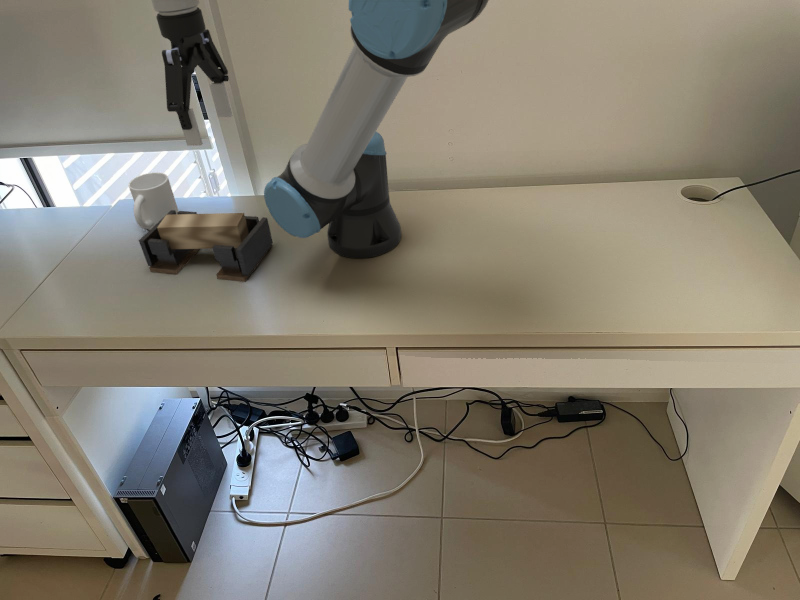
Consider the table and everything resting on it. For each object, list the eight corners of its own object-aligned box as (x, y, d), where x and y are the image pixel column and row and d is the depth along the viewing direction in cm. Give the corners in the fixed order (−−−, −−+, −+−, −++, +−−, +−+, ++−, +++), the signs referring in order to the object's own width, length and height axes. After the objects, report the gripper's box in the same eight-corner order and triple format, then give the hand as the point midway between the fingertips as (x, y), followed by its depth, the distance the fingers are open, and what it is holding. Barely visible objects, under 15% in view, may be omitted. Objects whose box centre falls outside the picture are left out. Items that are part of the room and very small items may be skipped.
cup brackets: (274, 245, 133) (268, 216, 129) (247, 281, 123) (239, 251, 119) (181, 237, 138) (172, 209, 134) (148, 271, 128) (137, 241, 124)
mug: (161, 241, 137) (146, 199, 131) (127, 239, 139) (111, 197, 133) (187, 213, 147) (174, 172, 140) (155, 212, 148) (141, 171, 142)
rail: (249, 234, 130) (243, 212, 126) (242, 247, 126) (237, 225, 123) (173, 235, 131) (166, 214, 128) (164, 249, 127) (157, 227, 124)
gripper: (190, -6, 119) (219, 106, 131) (119, 30, 99) (161, 158, 112) (227, -8, 117) (253, 105, 130) (162, 28, 98) (200, 158, 110)
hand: (210, 130), depth 121 cm, fingers open, 13 cm apart
